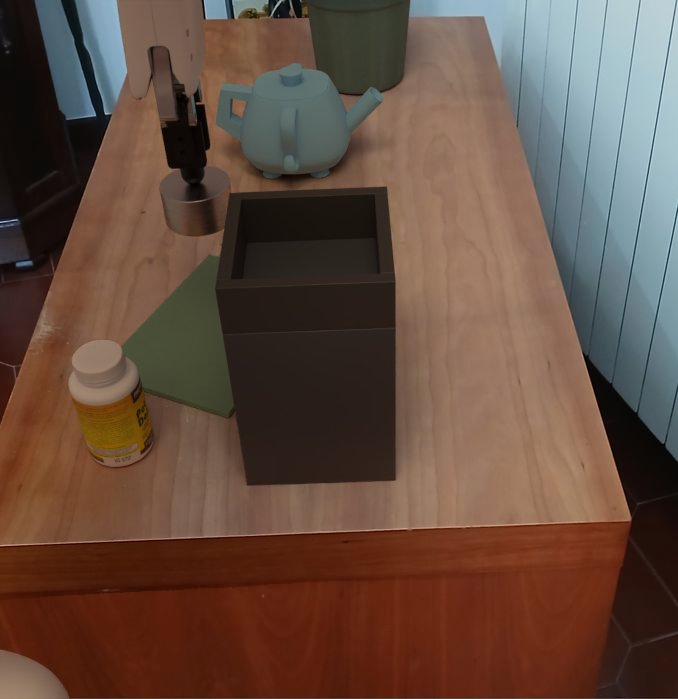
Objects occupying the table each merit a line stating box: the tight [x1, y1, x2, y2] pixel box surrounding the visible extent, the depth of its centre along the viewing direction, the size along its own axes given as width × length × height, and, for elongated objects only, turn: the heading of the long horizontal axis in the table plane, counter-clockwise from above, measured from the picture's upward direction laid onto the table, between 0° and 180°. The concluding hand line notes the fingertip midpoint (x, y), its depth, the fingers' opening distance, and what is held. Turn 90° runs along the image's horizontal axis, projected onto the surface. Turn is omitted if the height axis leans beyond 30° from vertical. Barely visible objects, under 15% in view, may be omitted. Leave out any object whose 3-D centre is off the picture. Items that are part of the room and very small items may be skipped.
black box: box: [215, 186, 397, 486], centre depth 72 cm, size 12×12×20 cm
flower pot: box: [305, 0, 411, 95], centre depth 125 cm, size 16×16×16 cm
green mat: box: [120, 254, 235, 419], centre depth 89 cm, size 20×14×1 cm
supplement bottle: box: [67, 339, 155, 468], centre depth 75 cm, size 6×6×10 cm
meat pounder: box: [158, 98, 232, 238], centre depth 77 cm, size 6×6×12 cm
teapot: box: [215, 62, 385, 179], centre depth 109 cm, size 20×17×12 cm
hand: (189, 156), depth 77 cm, fingers closed on meat pounder
